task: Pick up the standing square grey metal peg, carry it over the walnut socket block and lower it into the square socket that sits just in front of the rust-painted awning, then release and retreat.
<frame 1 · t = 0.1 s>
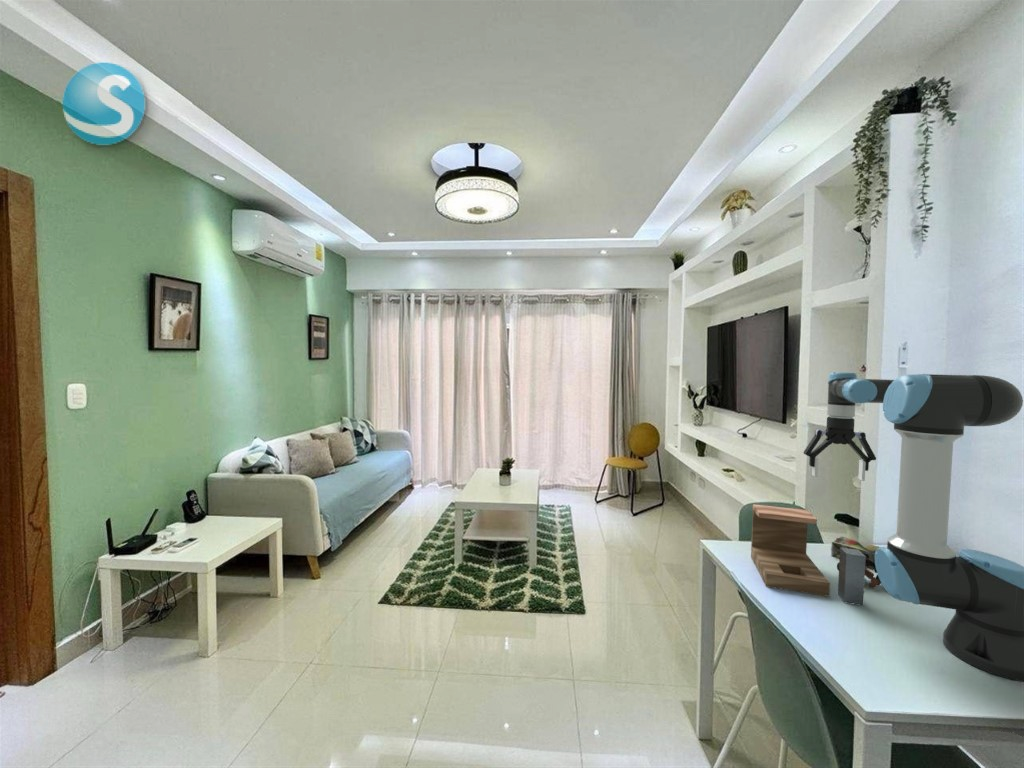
hand: (837, 477, 145), 28 cm above the table, fingers open, 13 cm apart
juice carton: (868, 564, 143), on the table
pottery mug: (857, 581, 130), on the table
socket stand: (786, 575, 133), on the table
peg: (850, 599, 119), on the table
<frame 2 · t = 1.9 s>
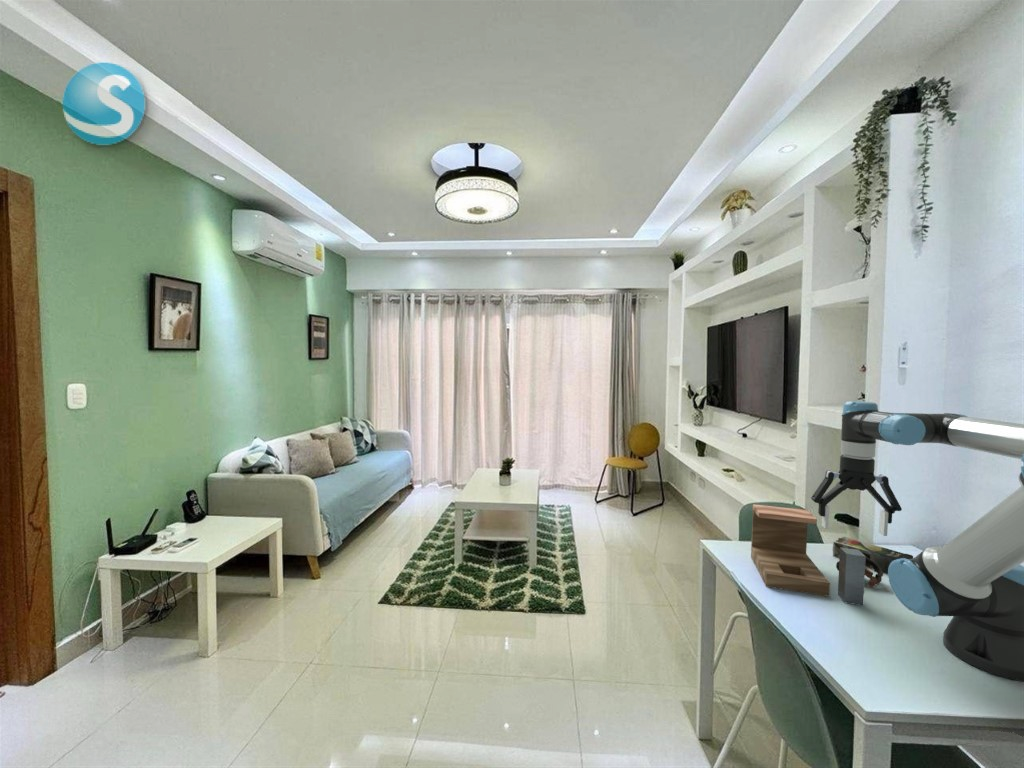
hand: (853, 530, 119), 20 cm above the table, fingers open, 13 cm apart
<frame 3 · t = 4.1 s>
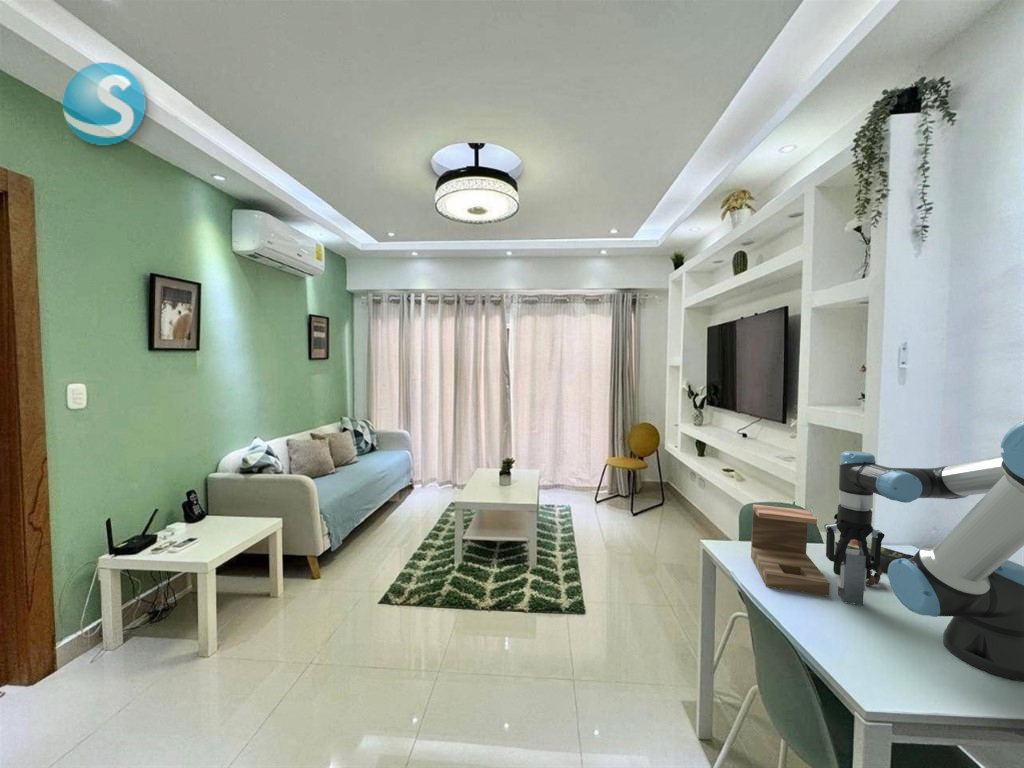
hand: (850, 587, 119), 4 cm above the table, fingers closed on peg, 4 cm apart
peg: (850, 599, 119), on the table, touching gripper
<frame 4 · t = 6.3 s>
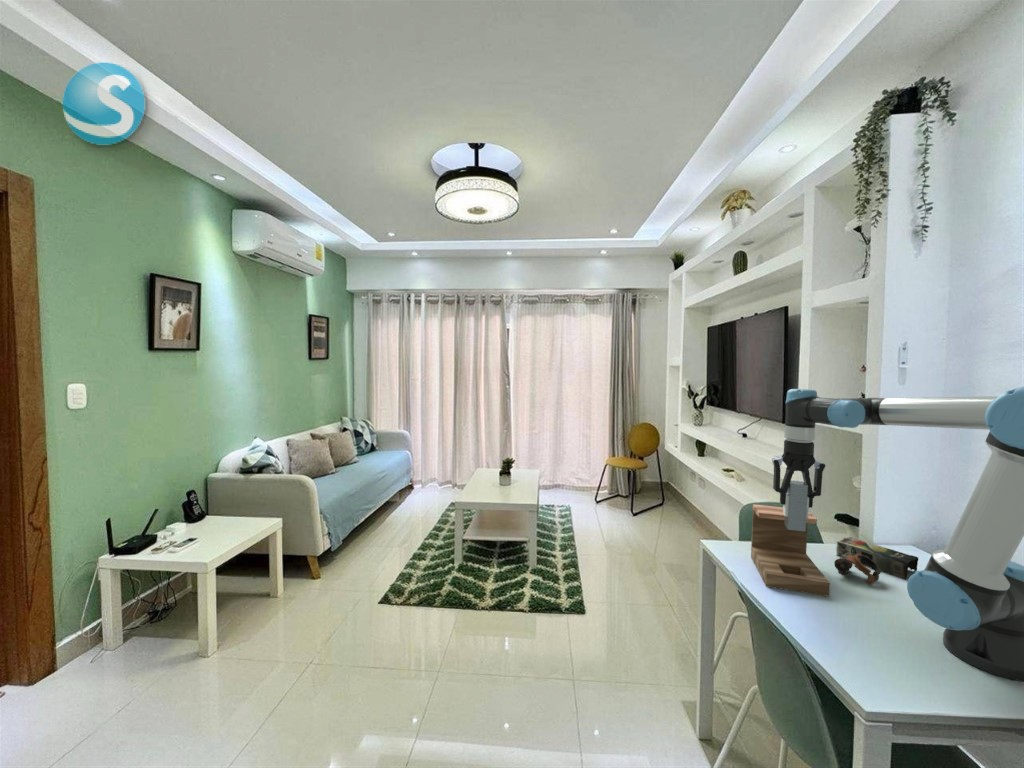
hand: (795, 516, 127), 21 cm above the table, fingers closed on peg, 4 cm apart
peg: (794, 527, 128), point 17 cm above the table, touching gripper
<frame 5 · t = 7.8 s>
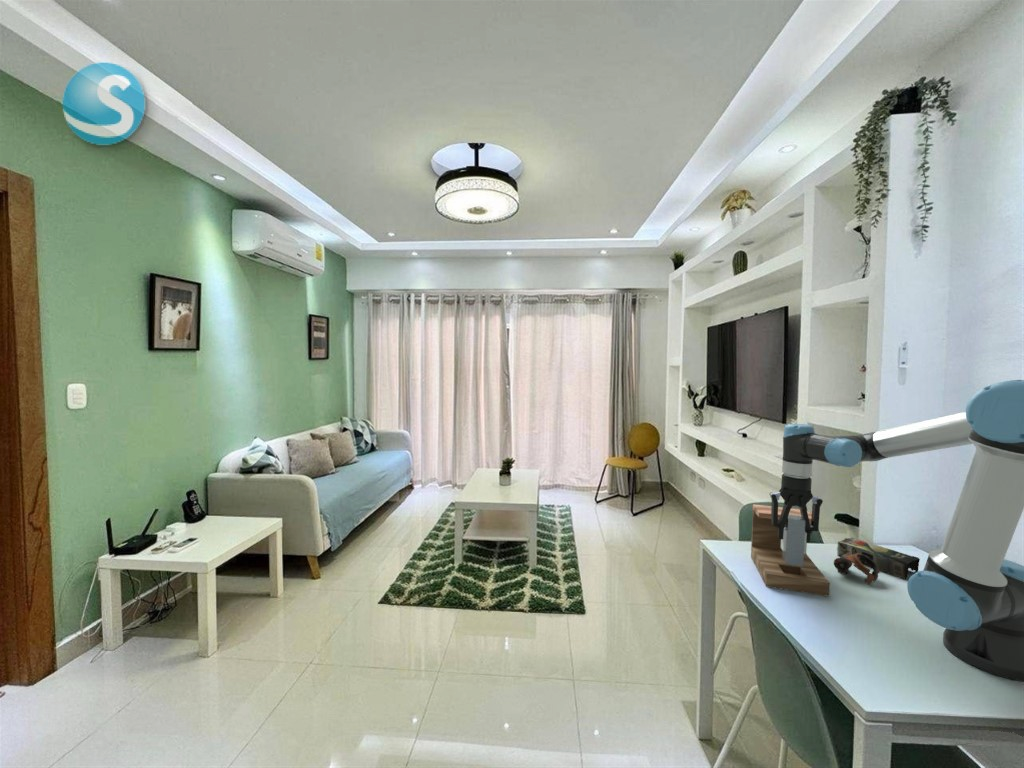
hand: (793, 550, 128), 10 cm above the table, fingers closed on peg, 4 cm apart
peg: (792, 562, 128), point 6 cm above the table, touching gripper
when the fingers open (5 cm above the table, at t = 9.0 s): peg drops 1 cm, resting in socket stand.
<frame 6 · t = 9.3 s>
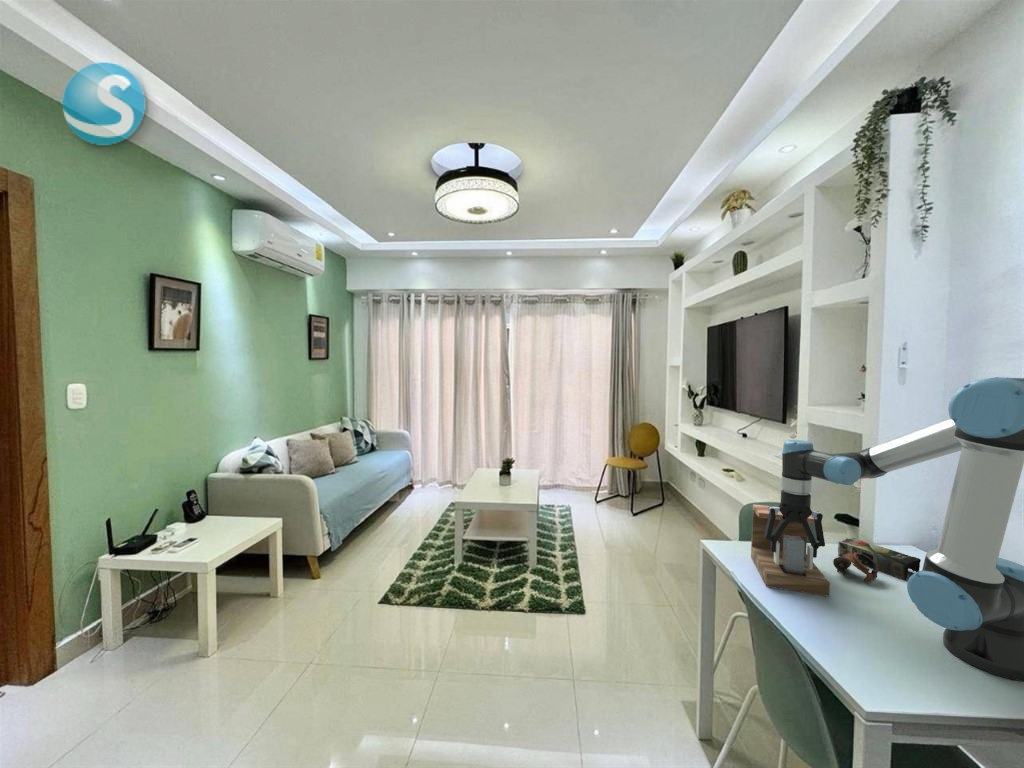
hand: (792, 564, 128), 6 cm above the table, fingers open, 8 cm apart
peg: (791, 583, 128), resting in socket stand
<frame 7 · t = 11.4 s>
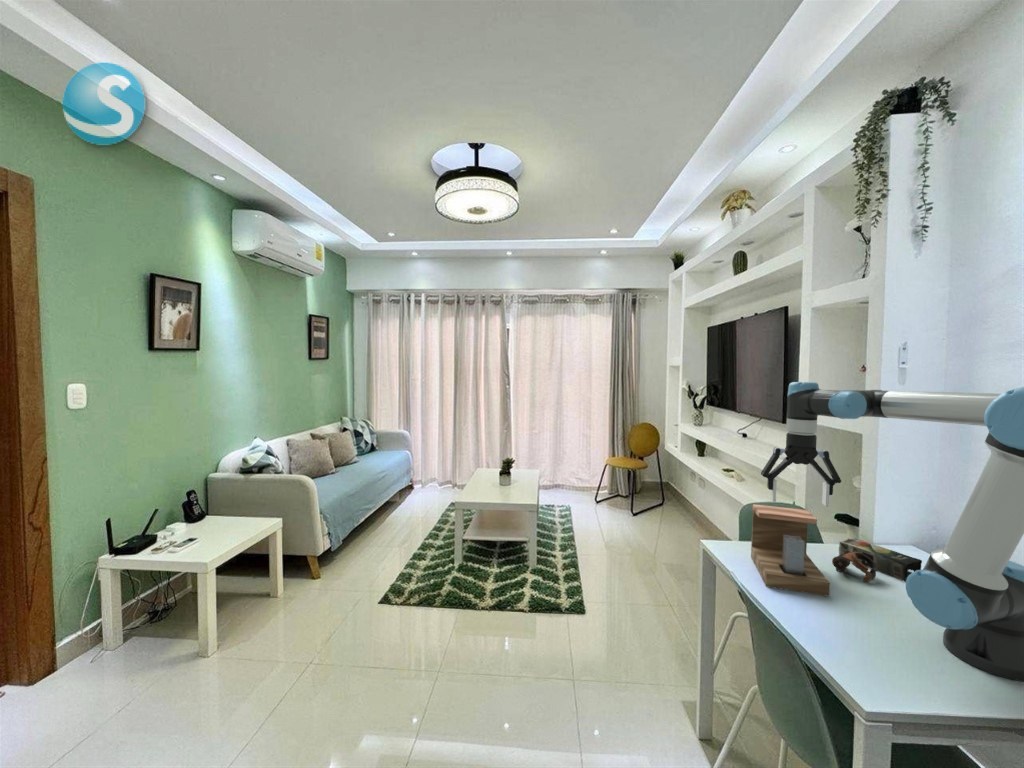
hand: (798, 502, 127), 25 cm above the table, fingers open, 13 cm apart
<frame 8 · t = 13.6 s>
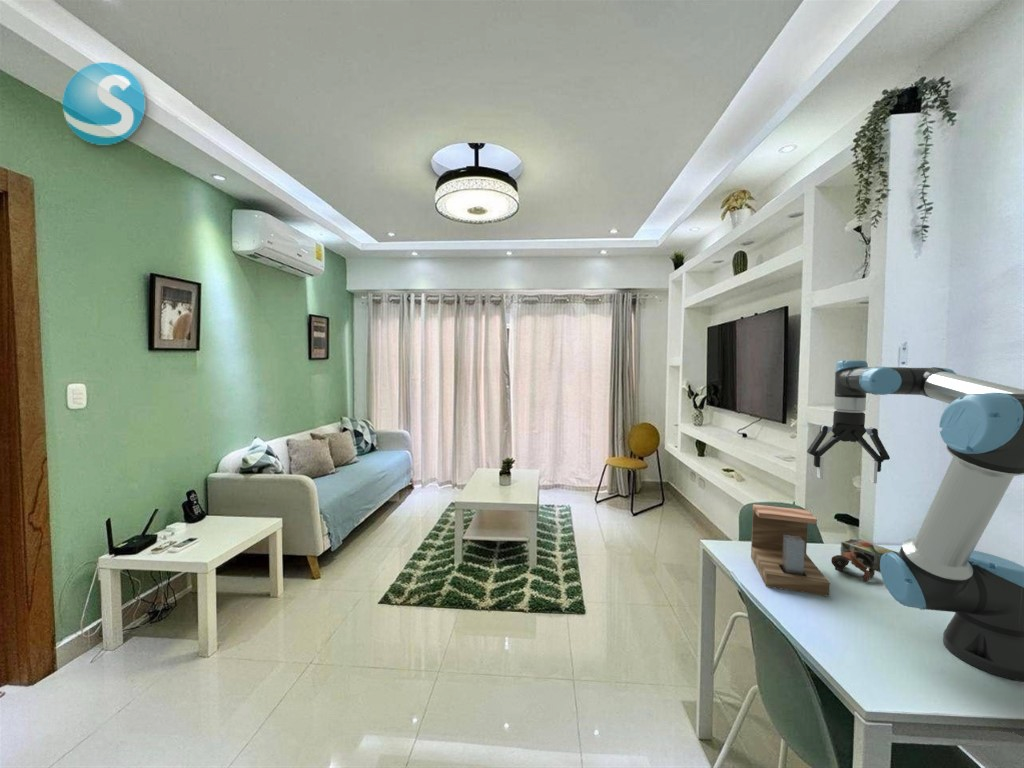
hand: (845, 479, 129), 32 cm above the table, fingers open, 13 cm apart
at the end: peg 0.0 cm from the target spot on the socket stand, point 0.0 cm above the socket stand's base; peg tilted 0°; the gripper is holding nothing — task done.
